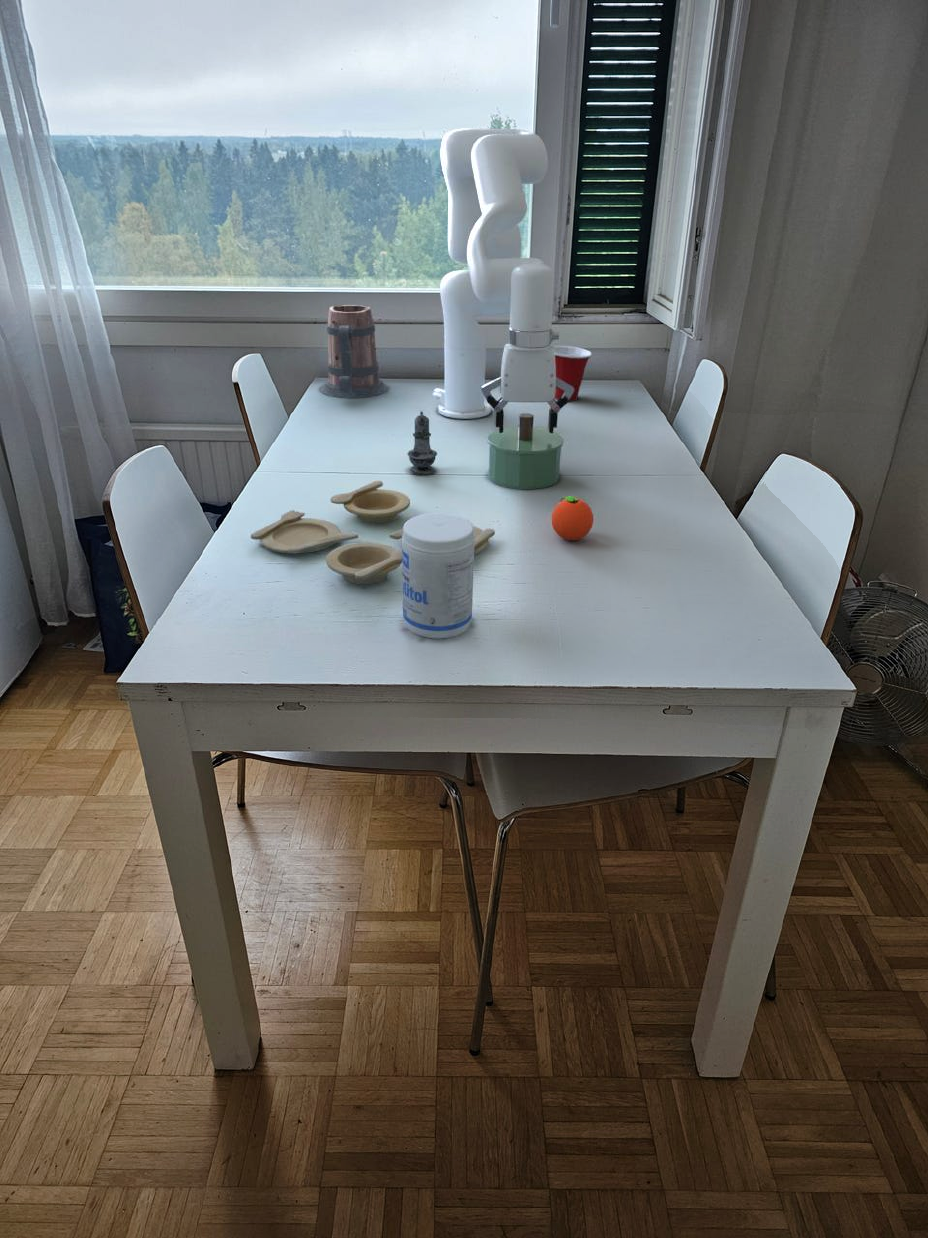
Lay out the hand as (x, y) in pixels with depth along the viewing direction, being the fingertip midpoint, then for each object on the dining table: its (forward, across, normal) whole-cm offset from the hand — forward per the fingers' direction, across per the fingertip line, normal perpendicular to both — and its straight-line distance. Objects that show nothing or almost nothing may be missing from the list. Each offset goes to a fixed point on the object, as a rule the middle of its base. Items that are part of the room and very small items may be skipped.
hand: (525, 430), depth 166 cm
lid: (+2, 0, 0) cm, 2 cm away
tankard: (+9, +40, -60) cm, 72 cm away
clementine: (+9, -6, +28) cm, 30 cm away
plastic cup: (+9, -15, -56) cm, 58 cm away
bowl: (+9, 0, 0) cm, 9 cm away
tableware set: (+9, +27, +31) cm, 42 cm away
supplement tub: (+9, +16, +57) cm, 60 cm away
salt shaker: (+9, +20, -3) cm, 22 cm away
